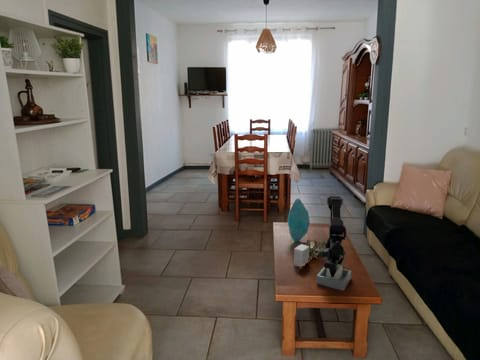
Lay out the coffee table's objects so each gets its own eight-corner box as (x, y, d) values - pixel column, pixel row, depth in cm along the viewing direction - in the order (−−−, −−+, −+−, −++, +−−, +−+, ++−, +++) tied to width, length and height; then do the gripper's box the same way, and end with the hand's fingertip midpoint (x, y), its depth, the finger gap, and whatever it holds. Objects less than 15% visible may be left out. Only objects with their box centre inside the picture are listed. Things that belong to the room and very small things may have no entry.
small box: (300, 260, 212) (301, 243, 209) (309, 262, 208) (309, 246, 205) (293, 265, 206) (294, 248, 203) (302, 268, 202) (302, 251, 200)
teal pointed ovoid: (309, 245, 231) (311, 201, 224) (288, 245, 231) (289, 201, 224) (306, 237, 243) (308, 195, 235) (286, 238, 243) (287, 195, 236)
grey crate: (325, 271, 197) (325, 264, 196) (350, 278, 190) (351, 270, 189) (316, 283, 186) (316, 275, 185) (343, 290, 179) (343, 282, 178)
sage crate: (330, 272, 192) (330, 262, 190) (341, 275, 189) (342, 265, 187) (326, 277, 187) (326, 267, 185) (338, 281, 183) (339, 270, 182)
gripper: (326, 237, 195) (325, 263, 199) (314, 250, 180) (313, 277, 184) (346, 241, 189) (345, 268, 193) (336, 255, 174) (334, 283, 178)
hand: (334, 274), depth 187 cm, fingers closed on sage crate, 6 cm apart
